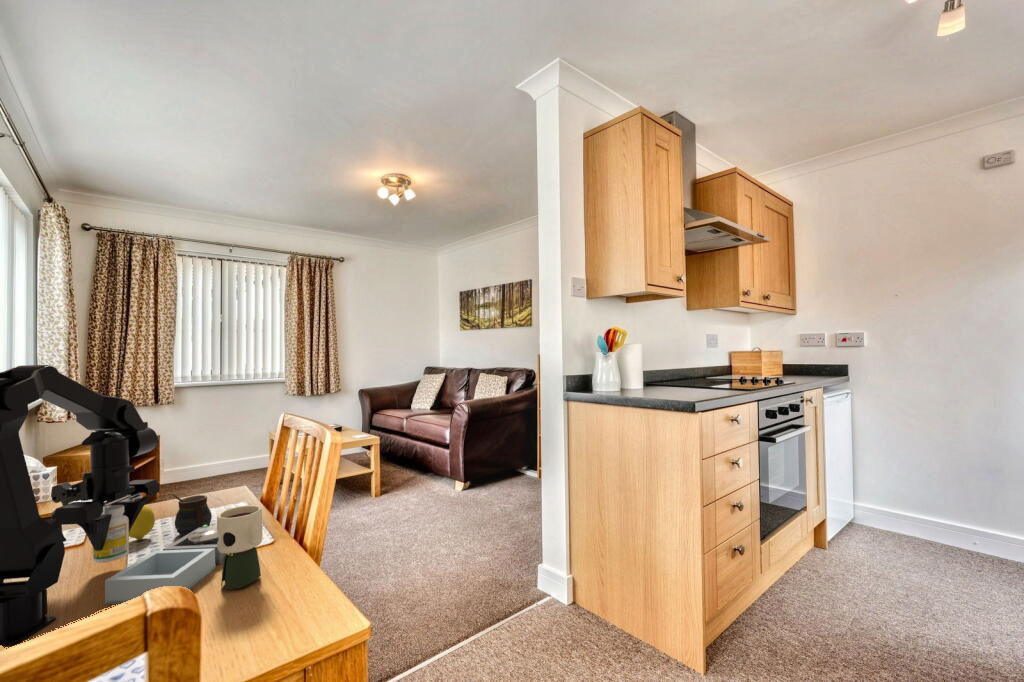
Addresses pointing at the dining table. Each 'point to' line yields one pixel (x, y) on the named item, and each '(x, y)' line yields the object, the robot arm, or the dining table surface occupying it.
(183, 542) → the grey square tray
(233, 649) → the dining table surface
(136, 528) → the lemon
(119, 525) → the supplement bottle
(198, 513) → the mate gourd
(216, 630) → the dining table surface
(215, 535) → the disc
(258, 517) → the character mug
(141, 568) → the bin
